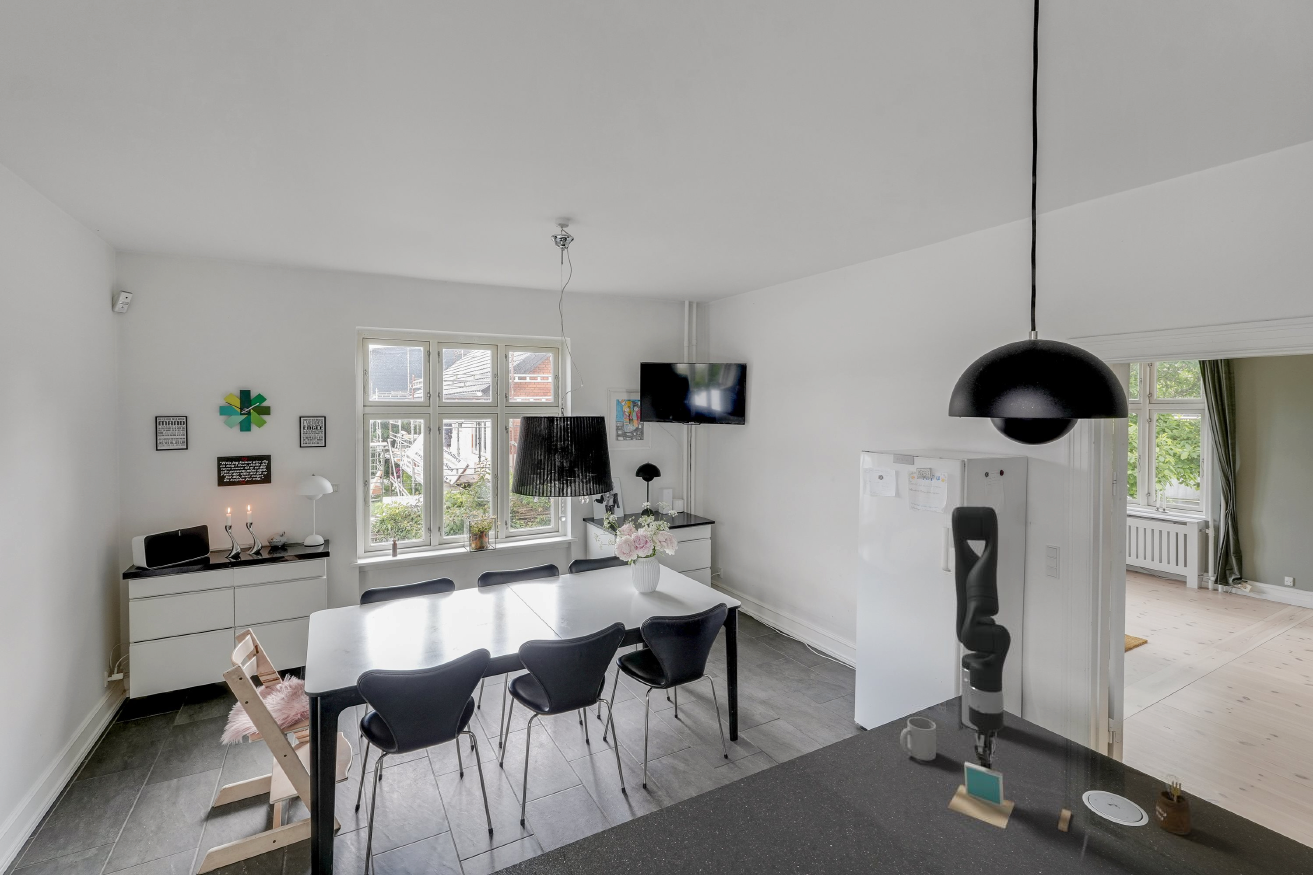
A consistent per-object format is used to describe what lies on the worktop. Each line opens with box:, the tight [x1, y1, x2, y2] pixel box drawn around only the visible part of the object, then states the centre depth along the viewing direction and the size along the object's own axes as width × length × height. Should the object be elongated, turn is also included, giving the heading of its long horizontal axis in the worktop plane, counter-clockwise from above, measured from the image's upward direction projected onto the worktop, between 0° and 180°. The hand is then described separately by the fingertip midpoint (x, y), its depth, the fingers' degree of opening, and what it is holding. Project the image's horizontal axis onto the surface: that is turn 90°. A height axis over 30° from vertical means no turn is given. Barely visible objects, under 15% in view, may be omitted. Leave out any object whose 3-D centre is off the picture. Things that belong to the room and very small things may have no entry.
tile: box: [963, 761, 1004, 807], centre depth 146 cm, size 1×8×8 cm, turn 50°
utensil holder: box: [1155, 773, 1192, 836], centre depth 136 cm, size 6×6×12 cm
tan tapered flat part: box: [1057, 808, 1072, 833], centre depth 136 cm, size 13×4×1 cm, turn 140°
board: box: [947, 784, 1016, 829], centre depth 144 cm, size 12×12×1 cm
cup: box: [899, 716, 937, 761], centre depth 167 cm, size 7×10×9 cm
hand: (986, 775), depth 147 cm, fingers closed
